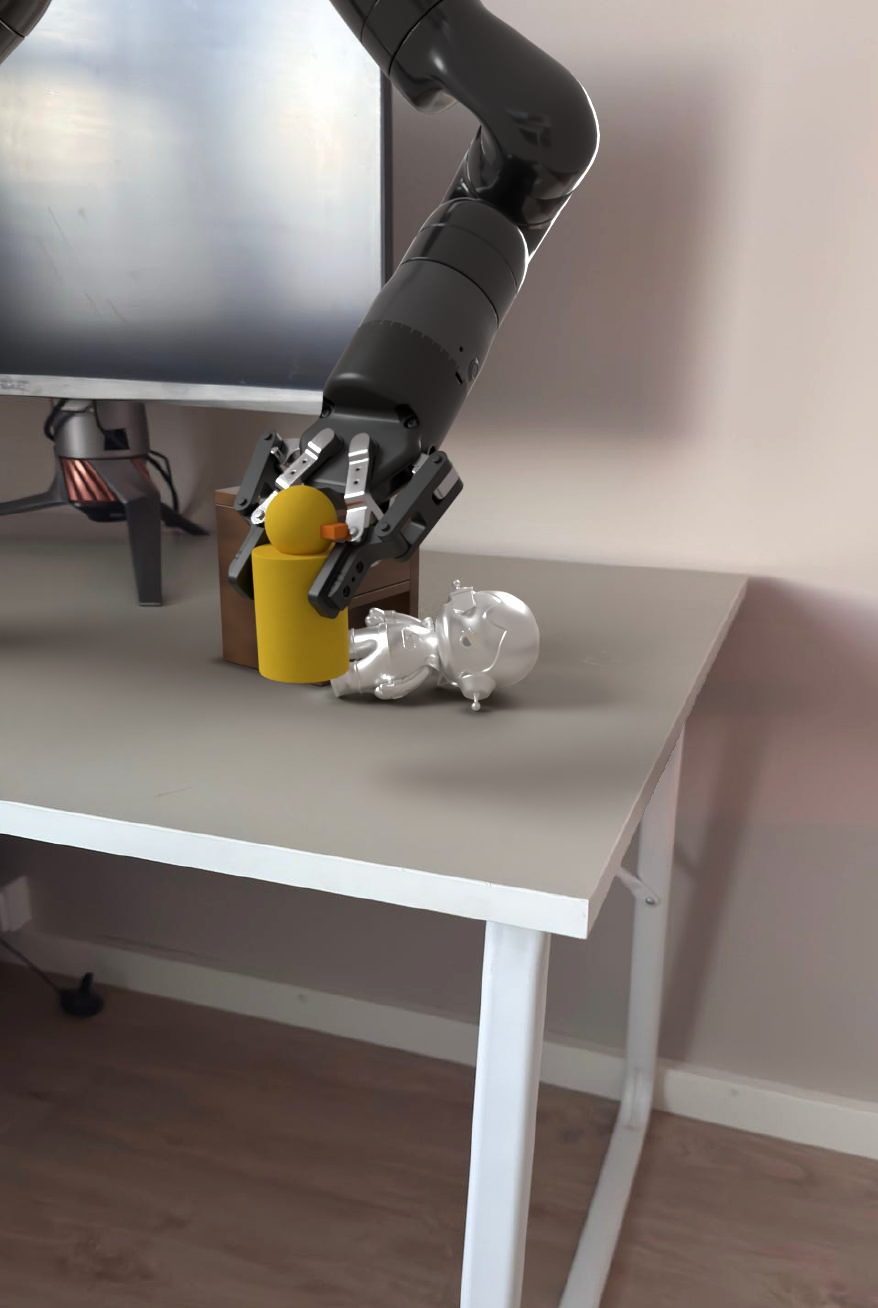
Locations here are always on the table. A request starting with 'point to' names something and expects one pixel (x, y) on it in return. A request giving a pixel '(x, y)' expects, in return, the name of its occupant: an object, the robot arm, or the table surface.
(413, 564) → the wooden box
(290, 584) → the duck
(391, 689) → the figurine
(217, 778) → the table surface
